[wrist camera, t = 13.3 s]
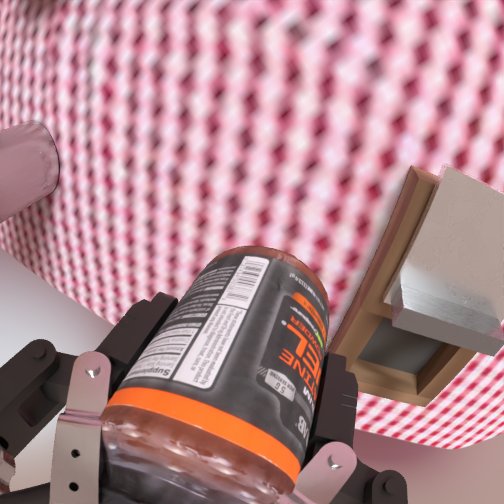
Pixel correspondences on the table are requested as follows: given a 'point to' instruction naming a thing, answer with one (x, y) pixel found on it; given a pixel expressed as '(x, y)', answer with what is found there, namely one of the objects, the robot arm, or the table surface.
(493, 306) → the shutter lid
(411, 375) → the socket board
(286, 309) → the supplement bottle
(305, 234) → the table surface
